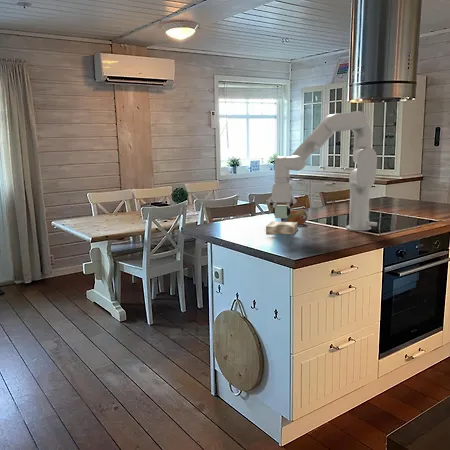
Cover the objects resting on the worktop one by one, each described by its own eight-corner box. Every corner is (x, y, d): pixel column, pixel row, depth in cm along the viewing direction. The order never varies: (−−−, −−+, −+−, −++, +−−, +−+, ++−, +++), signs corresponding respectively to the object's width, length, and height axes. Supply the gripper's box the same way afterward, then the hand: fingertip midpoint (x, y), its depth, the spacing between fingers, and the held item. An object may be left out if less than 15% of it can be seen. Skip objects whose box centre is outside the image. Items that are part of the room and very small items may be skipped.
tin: (282, 226, 257) (282, 211, 256) (280, 225, 260) (279, 210, 259) (307, 224, 261) (307, 209, 259) (304, 223, 264) (304, 208, 262)
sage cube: (288, 216, 245) (288, 205, 244) (286, 218, 240) (286, 206, 238) (277, 216, 247) (277, 204, 246) (274, 218, 241) (274, 206, 240)
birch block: (297, 229, 249) (297, 222, 248) (293, 235, 236) (293, 227, 235) (271, 228, 253) (271, 221, 253) (266, 234, 240) (265, 226, 240)
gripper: (299, 180, 241) (299, 214, 244) (267, 179, 246) (267, 213, 249) (297, 181, 234) (297, 217, 237) (263, 181, 239) (263, 215, 242)
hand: (281, 214), depth 243 cm, fingers closed on sage cube, 6 cm apart
